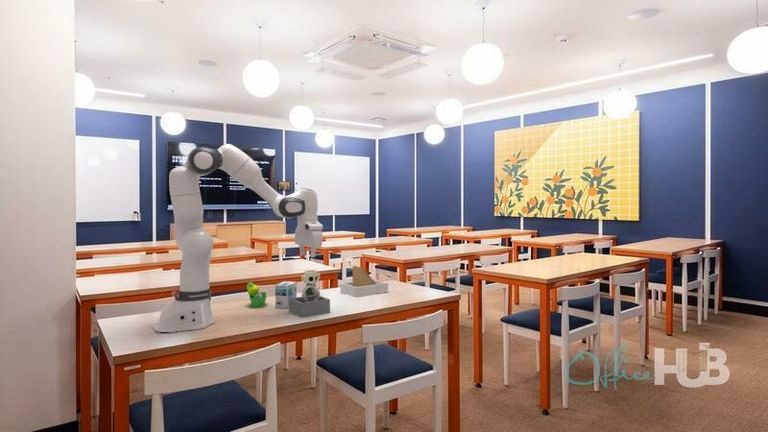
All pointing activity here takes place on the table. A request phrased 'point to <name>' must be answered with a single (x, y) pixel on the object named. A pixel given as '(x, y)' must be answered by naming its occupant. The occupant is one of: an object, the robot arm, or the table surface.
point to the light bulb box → (285, 293)
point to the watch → (314, 290)
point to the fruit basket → (256, 295)
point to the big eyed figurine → (310, 280)
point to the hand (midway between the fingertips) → (307, 256)
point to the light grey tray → (364, 288)
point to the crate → (309, 306)
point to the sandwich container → (361, 277)
